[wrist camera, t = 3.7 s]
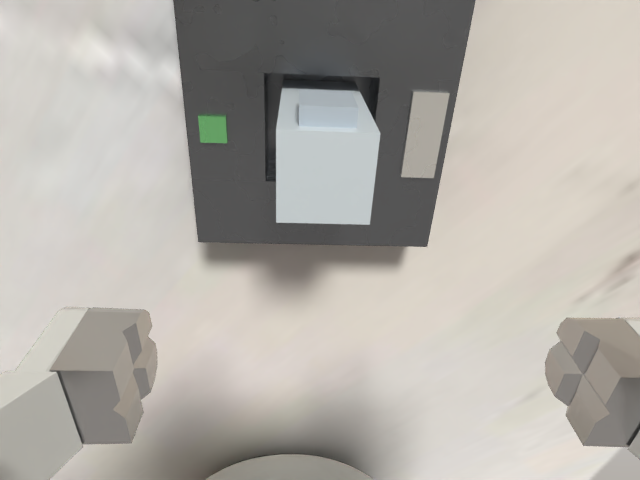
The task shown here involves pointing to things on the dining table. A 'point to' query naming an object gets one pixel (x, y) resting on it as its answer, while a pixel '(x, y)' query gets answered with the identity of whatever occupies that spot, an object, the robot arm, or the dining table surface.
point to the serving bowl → (290, 469)
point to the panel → (317, 65)
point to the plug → (325, 154)
